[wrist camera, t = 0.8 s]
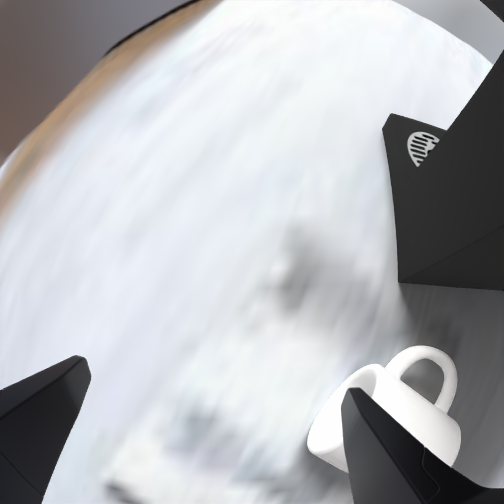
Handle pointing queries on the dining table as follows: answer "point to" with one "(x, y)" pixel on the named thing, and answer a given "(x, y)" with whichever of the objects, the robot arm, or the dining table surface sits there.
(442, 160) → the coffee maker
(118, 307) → the dining table surface
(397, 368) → the mug
